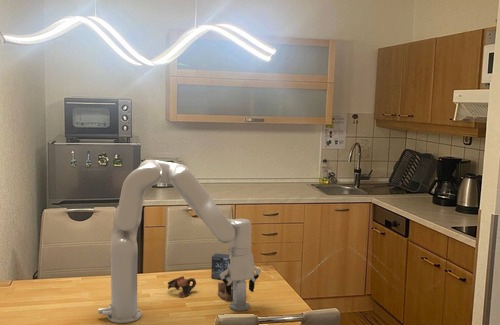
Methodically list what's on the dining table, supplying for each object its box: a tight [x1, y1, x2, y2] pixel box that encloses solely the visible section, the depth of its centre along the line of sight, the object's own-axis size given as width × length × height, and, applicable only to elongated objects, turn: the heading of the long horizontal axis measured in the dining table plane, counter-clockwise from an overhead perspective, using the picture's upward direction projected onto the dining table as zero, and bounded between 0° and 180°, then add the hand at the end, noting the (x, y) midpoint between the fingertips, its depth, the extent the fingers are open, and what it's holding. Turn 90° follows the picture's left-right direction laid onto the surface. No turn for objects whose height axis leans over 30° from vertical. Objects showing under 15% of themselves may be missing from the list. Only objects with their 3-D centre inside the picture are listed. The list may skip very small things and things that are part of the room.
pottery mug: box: [167, 276, 197, 298], centre depth 221 cm, size 12×10×8 cm
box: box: [211, 252, 230, 281], centre depth 240 cm, size 8×6×11 cm
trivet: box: [229, 301, 251, 312], centre depth 208 cm, size 8×8×1 cm
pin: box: [232, 280, 247, 308], centre depth 207 cm, size 4×5×11 cm
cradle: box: [217, 280, 233, 302], centre depth 219 cm, size 9×9×5 cm
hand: (240, 292), depth 207 cm, fingers open, 9 cm apart
